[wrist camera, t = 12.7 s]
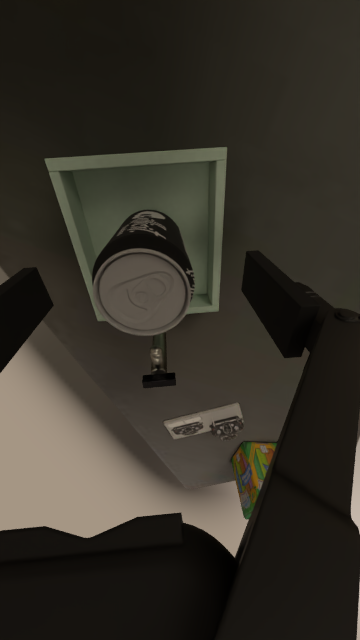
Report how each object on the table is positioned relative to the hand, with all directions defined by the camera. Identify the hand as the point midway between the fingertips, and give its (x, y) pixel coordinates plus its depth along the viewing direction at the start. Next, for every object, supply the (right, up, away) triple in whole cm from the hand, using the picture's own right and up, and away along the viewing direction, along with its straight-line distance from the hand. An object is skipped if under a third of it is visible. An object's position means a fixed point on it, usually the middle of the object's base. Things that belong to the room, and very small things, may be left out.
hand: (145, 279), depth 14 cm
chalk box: (+20, -34, +38) cm, 55 cm away
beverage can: (-1, +5, +9) cm, 10 cm away
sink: (-1, +6, +9) cm, 11 cm away
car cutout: (+7, -23, +29) cm, 38 cm away
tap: (0, -1, +14) cm, 14 cm away
